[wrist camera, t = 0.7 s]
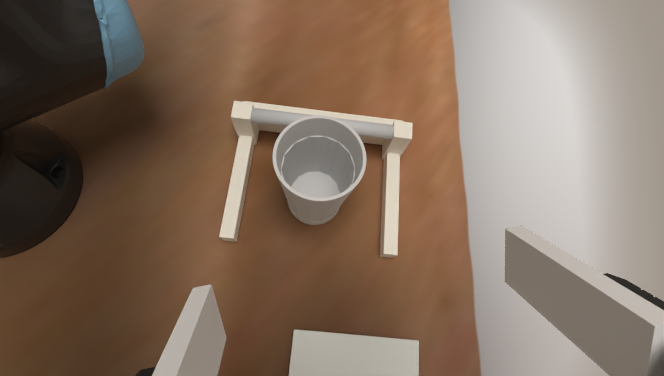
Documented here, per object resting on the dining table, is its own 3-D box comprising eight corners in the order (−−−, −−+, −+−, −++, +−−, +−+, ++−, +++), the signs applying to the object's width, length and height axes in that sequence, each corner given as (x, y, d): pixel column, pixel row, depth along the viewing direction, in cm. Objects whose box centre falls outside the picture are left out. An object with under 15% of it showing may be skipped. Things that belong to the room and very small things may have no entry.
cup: (331, 157, 42) (342, 103, 31) (359, 215, 40) (382, 179, 29) (270, 181, 41) (258, 132, 29) (295, 243, 39) (294, 216, 27)
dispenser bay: (394, 257, 39) (410, 249, 33) (220, 240, 38) (207, 228, 32) (398, 132, 44) (412, 107, 39) (245, 114, 43) (237, 85, 38)
